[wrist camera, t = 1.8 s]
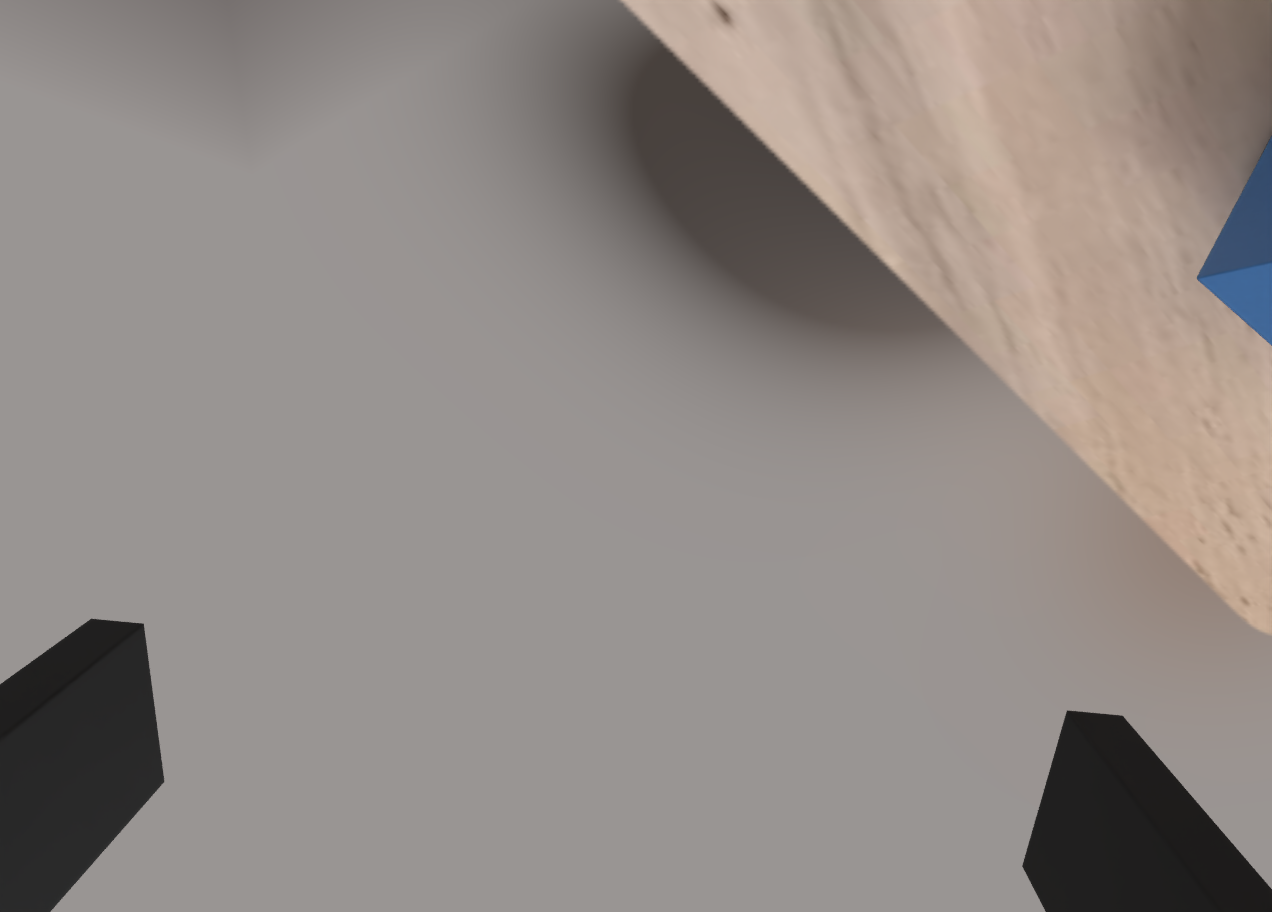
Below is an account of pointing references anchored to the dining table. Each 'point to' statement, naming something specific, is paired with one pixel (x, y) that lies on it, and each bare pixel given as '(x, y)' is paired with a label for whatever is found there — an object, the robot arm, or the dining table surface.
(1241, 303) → the bottle
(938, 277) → the dining table surface
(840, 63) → the dining table surface
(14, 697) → the robot arm
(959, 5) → the dining table surface
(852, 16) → the dining table surface
